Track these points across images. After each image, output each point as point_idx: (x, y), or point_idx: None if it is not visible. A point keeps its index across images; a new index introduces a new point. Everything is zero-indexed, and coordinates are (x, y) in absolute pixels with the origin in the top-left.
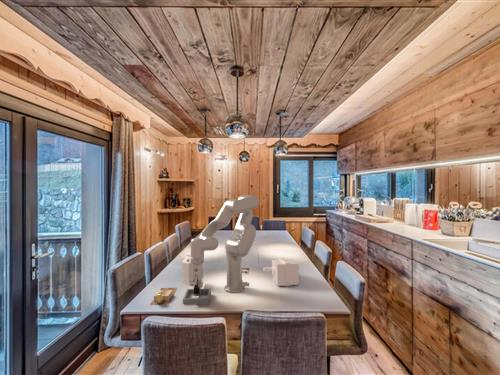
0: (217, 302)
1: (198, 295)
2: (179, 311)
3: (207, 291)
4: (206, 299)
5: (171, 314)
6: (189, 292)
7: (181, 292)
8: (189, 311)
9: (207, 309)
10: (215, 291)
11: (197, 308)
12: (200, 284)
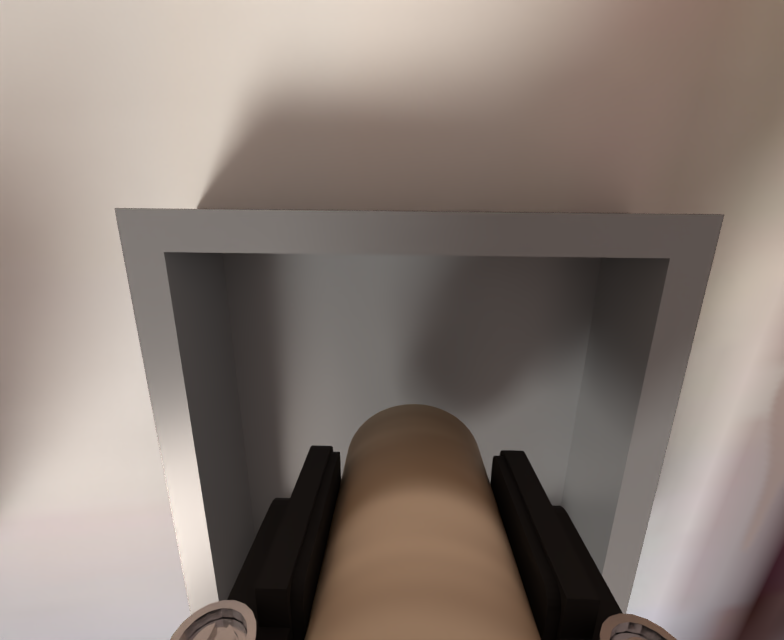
0: (557, 54)
1: (474, 443)
2: (704, 572)
3: (199, 284)
4: (696, 271)
5: (750, 633)
6: (242, 564)
7: (160, 618)
8: (747, 470)
9: (780, 228)
10: (59, 129)
11: (692, 381)
12: (472, 632)
